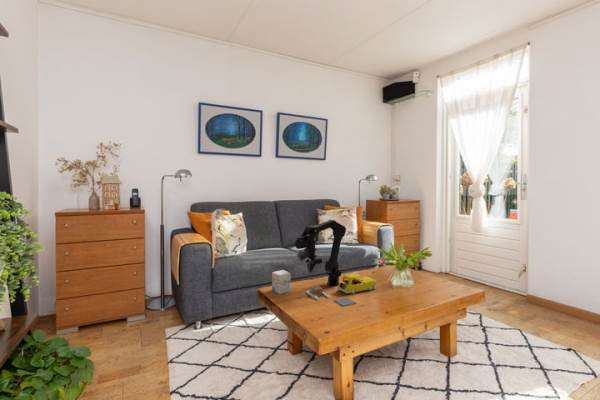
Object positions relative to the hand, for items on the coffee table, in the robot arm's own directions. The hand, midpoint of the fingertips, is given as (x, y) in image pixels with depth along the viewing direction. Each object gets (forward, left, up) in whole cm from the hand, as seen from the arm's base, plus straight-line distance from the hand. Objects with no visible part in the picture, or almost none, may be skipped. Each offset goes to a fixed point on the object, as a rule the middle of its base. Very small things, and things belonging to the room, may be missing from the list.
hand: (310, 271), depth 196 cm
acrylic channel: (0, +9, -12) cm, 15 cm away
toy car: (-27, +11, -12) cm, 32 cm away
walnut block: (0, +8, -12) cm, 14 cm away
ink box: (+16, -8, -12) cm, 22 cm away
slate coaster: (-8, +25, -12) cm, 29 cm away
